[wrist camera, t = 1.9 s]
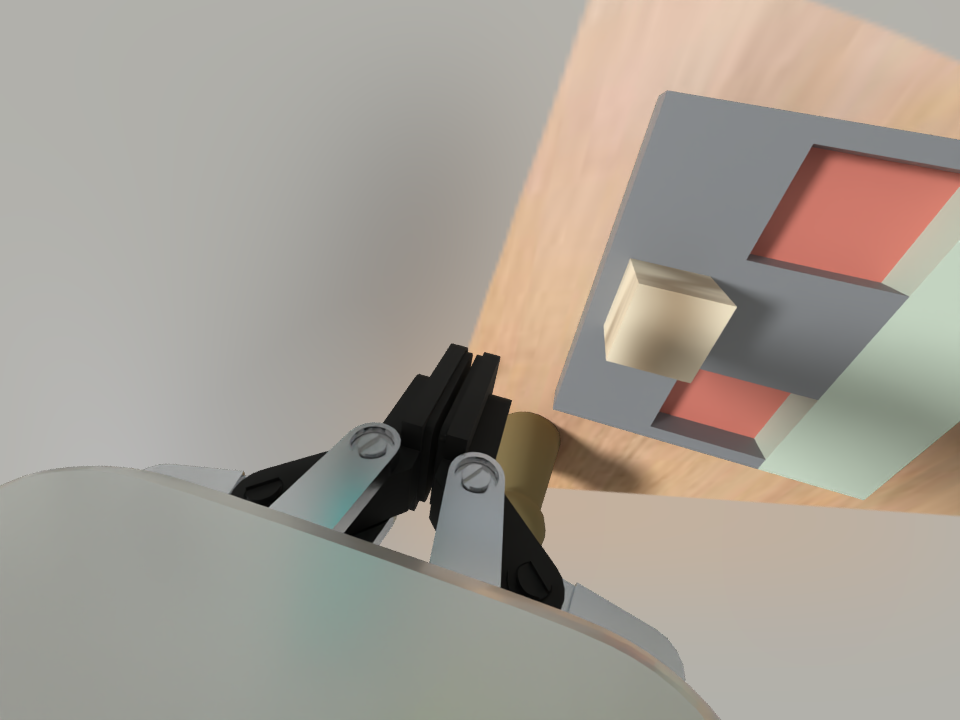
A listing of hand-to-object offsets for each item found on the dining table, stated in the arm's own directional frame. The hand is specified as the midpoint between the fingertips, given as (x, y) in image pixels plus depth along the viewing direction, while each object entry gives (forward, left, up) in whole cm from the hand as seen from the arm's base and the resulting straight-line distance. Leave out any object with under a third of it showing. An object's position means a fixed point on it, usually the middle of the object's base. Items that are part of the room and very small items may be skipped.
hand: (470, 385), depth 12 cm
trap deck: (-15, 0, -16) cm, 22 cm away
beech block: (-8, 0, -13) cm, 15 cm away
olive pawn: (-3, +16, -16) cm, 23 cm away
